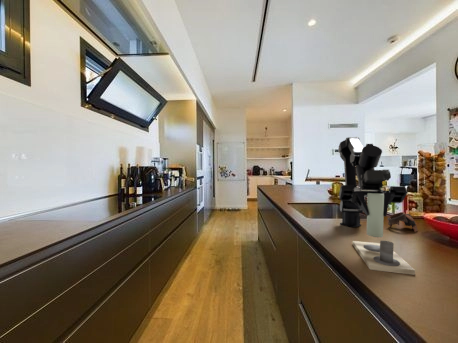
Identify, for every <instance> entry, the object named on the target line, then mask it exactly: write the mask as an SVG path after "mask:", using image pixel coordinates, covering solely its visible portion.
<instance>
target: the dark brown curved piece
mask: <svg viewBox="0 0 458 343" xmlns="http://www.w3.org/2000/svg"><path fill="white" fill-rule="evenodd" d="M387 221H388V226H389V227H390V228H392V226H393V225H398V226H400V221H401V222H403V223H404V226H406V227H411V229H412V230H413V232H414V233H417V232H418V226H417V224H416V222H415V220H414V218H413V216H412V215H411V214H410V213H406V212H405V211H401V212H396V213H393V214H392V215H390V216H389V217H387Z"/></svg>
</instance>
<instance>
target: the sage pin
mask: <svg viewBox="0 0 458 343" xmlns="http://www.w3.org/2000/svg"><path fill="white" fill-rule="evenodd" d="M366 204H367V207H368V211H369V215H366V235H367V236H370V237H373V238H383V237H384V219H385V218H384V217H385V216H384V194H379V193H367V199H366Z"/></svg>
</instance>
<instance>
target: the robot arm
mask: <svg viewBox="0 0 458 343" xmlns="http://www.w3.org/2000/svg"><path fill="white" fill-rule="evenodd" d="M338 153H339V156H340V158H341V160H342V161H343V165H344V166H343V167H344V168H343V169H344V181H345V182H344V184H341V185H340V189H339V194H338V197H339V198H338V199H339V200H340V203H339V211H340V212H342V213H341V215H342V216H341V217H342V218H341V219H342V220H341V221H342V222H340V223H339V224H340V225H342V226H346V227H350V228H356V227H357V228H358V227H360V226H362V224H361V216H360V214H363V213H364V214H365V215H366V216H367V215H369V211H368V207H367V200H366V198H365V197H367V193H379V194H384V217H387V214H388V208H389V205H391V204H401V203H403V202H404V200H405V198H406V196H407V195H408V193H409V192H408V189H407V188H406V187H405V186H401V185H400V186H399V185H397V186H395V185H390V187H389V189H388V190H383V189H381V188H383V186H384V185H383V182H384V181H385V182H387V181H390V179H391V178H392V175H391V171H390V169H375V168H377V167H378V166H379V162H380V159H381V156H382V153H383V150H382V149H381V148H380V147H379V146H376V145H374V144H373V143H366V144H365V146H363V144H362V143H361V140H360V137H358V136H348V137H346V138H345V139H344V140H343V141H341V142H339V145H338ZM356 177H357V178H356ZM357 180H358V187H357Z"/></svg>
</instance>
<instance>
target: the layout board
mask: <svg viewBox="0 0 458 343" xmlns="http://www.w3.org/2000/svg"><path fill="white" fill-rule="evenodd" d="M351 243H352V245H353V247H354V250H356V252H357V253H358V255H359V256H360V258H361V259H362V261H364V263H365V264H366V266H367V267H368V269H369V270H371V271H378V272H390V273H395V274H397V273H398V274H404V275H405V274H406V275H414V276H415V275H416V269H415V268H413V266H411V265H410V264H409V263H408V262H407V261H406V260H404V259H403V257H401V256H400V255H399V254H398V253H397V252H395V251H394V243H393V242H392V241H389V240H380V241H379V242H372V241H371V242H370V241H369V242H368V241H360V240H359V241H358V240H352V242H351Z"/></svg>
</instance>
